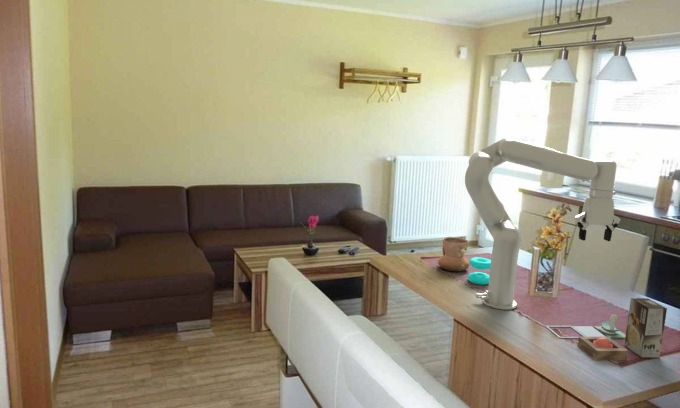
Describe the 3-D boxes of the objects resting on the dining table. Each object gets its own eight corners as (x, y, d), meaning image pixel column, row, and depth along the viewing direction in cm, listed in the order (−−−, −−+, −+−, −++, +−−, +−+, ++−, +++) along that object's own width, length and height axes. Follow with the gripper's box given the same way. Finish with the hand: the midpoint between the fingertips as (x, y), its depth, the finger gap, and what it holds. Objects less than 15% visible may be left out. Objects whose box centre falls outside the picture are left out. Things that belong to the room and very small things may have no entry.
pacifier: (606, 336, 173) (623, 336, 174) (608, 318, 172) (625, 318, 173) (594, 327, 180) (610, 327, 181) (596, 310, 179) (612, 310, 180)
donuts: (465, 256, 228) (485, 256, 231) (463, 278, 230) (483, 277, 232) (476, 263, 219) (497, 262, 221) (474, 286, 220) (495, 285, 223)
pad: (609, 338, 172) (609, 337, 172) (594, 327, 181) (594, 326, 181) (629, 338, 173) (629, 337, 173) (612, 327, 182) (612, 326, 182)
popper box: (595, 360, 156) (597, 350, 155) (577, 345, 166) (578, 336, 165) (626, 360, 157) (628, 350, 156) (606, 345, 167) (608, 336, 166)
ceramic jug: (476, 273, 238) (479, 243, 236) (448, 274, 233) (450, 244, 231) (456, 263, 255) (459, 235, 253) (430, 264, 250) (432, 235, 248)
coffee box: (660, 358, 159) (668, 308, 157) (641, 357, 159) (649, 308, 156) (641, 344, 168) (648, 297, 166) (622, 344, 168) (629, 297, 165)
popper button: (598, 355, 158) (600, 341, 157) (588, 347, 164) (590, 334, 163) (615, 355, 159) (617, 341, 158) (604, 347, 164) (606, 334, 163)
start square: (559, 338, 170) (559, 337, 170) (545, 326, 180) (545, 325, 180) (587, 338, 171) (587, 337, 171) (571, 326, 181) (571, 325, 181)
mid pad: (587, 338, 172) (587, 337, 172) (572, 327, 180) (572, 326, 180) (606, 338, 172) (606, 337, 172) (591, 327, 181) (591, 326, 181)
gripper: (616, 193, 191) (610, 238, 194) (572, 191, 190) (566, 237, 193) (629, 196, 184) (623, 243, 187) (583, 195, 182) (577, 242, 185)
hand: (594, 240), depth 190 cm, fingers open, 9 cm apart
